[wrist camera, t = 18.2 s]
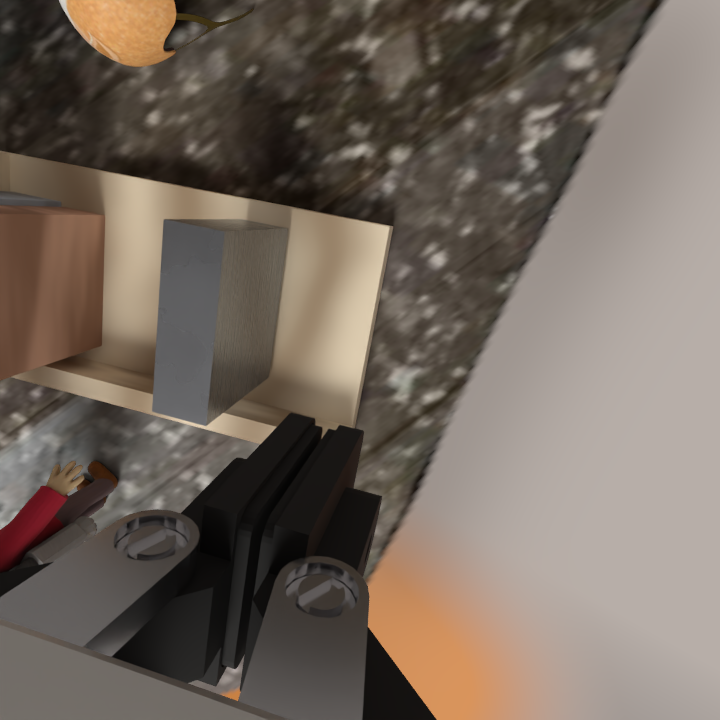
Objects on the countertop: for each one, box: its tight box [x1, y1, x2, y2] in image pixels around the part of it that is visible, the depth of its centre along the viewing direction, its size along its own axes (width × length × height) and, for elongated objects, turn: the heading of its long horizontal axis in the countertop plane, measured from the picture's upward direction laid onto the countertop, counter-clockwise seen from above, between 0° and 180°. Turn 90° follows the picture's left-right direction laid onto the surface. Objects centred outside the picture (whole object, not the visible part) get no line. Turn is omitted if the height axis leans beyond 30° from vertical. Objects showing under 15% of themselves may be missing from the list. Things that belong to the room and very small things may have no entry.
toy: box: [0, 461, 118, 573], centre depth 27 cm, size 11×7×15 cm, turn 142°
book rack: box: [0, 151, 393, 444], centre depth 24 cm, size 23×12×12 cm, turn 80°
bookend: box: [152, 219, 289, 426], centre depth 24 cm, size 2×8×7 cm, turn 170°
